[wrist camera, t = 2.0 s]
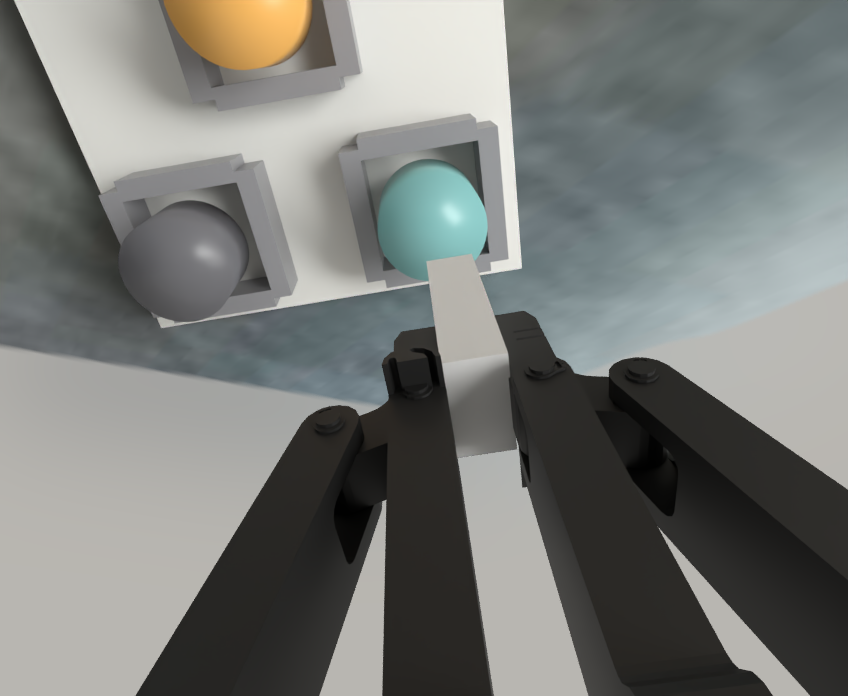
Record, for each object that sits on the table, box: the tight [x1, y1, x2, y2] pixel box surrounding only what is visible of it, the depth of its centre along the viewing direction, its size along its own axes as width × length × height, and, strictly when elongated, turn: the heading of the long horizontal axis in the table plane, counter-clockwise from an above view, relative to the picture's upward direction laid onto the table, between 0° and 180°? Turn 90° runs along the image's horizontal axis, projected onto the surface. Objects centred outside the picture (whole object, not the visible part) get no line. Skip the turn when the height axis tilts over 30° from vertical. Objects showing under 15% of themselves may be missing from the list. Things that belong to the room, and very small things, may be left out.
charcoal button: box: [118, 200, 249, 322], centre depth 26 cm, size 5×5×4 cm
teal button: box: [378, 159, 488, 281], centre depth 26 cm, size 5×5×4 cm
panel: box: [14, 0, 522, 328], centre depth 27 cm, size 22×20×4 cm
